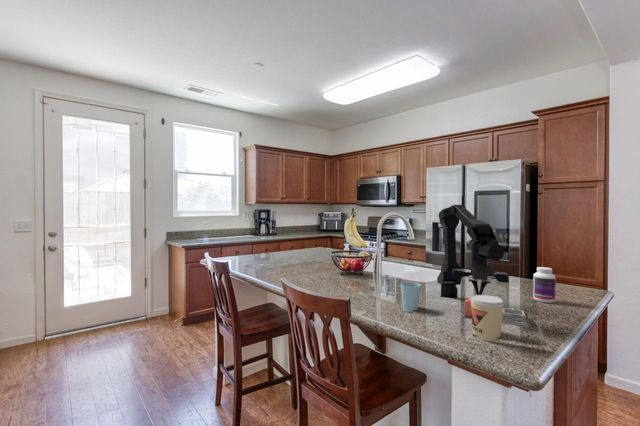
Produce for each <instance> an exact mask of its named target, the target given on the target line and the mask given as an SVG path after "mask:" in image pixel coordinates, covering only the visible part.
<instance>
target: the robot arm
mask: <svg viewBox="0 0 640 426" xmlns="http://www.w3.org/2000/svg"><path fill="white" fill-rule="evenodd" d="M438 219H439V224H440V226H441V227H442V228H443V245H444V246H443V247H444V261H443V263H442V265H441V267H440V273H439V274H438V276H437V278H436V280H437V281H436V282H437V283H438V284H439V285H440V298H447V299H453V300H456V299H457V298H458V297H459V296H458V295H459V293H458V292H459V289H458V287H457V285H459V286H461V282H462V279H463V277H464V278H465V277H467V278H468V282H469V283H470V282H471V285H472V286H473V288H474V290H475V293H476V295H483V292H484V290H485V288H486V286H487V285H488V284H491V280H496V281H497V282H498V283H504V284H505V283H507V284H508V283H509V281H510V277H509V274H508V273H507V272H504V271H502V272H501V271H494V269H495V268H494V266H489V260H491V261H495V262H498V261H500V260H502V258H503V257H504V255H505V251H504V248H503V246H501V245H500V244H499V240H497V236H496V235H495V232H494V231H493V228H492V226H491V225H490V223H488V222H486V221H484V220H481V219H478V218H476V216H475V215H473V213H471V212H470V211H469V210H468V209H467V208H466V206H465V205H463V204H453V205H451V206H449V207H446V208H443V209H441V210H440V211H439V213H438ZM460 222H461V223H462V224H463V225H464V226H465V227H466V233H467V234H468V236H469V237H470V238H471V239H470V240H469V241H468V243H469V244H470V248H471V249H470V271H464V269H463V268H462V266H461V265H460V264H459V263H458V262H457V239H456V238H457V237H456V235H457V232H456V229H457V228H458V225H460ZM494 272H495V273H494ZM479 280H480V284H478V281H479Z"/></svg>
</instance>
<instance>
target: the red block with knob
mask: <svg viewBox="0 0 640 426" xmlns="http://www.w3.org/2000/svg"><path fill="white" fill-rule="evenodd" d="M470 299H471V297H469V298H465V301H464V307H465V315H466V316H472V315H471V301H470Z"/></svg>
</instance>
